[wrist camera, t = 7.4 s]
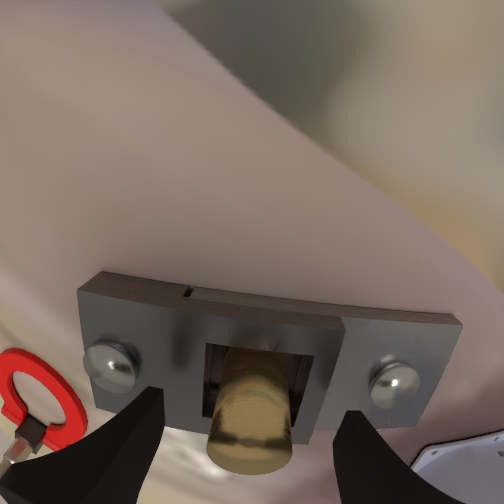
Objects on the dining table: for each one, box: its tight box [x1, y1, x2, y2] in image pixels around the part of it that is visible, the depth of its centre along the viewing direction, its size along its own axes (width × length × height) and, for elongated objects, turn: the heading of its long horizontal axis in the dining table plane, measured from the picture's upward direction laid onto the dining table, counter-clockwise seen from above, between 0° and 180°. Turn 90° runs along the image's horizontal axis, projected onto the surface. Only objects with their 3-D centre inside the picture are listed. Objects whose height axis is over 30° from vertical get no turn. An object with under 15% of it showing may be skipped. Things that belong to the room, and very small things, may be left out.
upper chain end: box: [77, 271, 346, 444], centre depth 14 cm, size 11×7×3 cm, turn 83°
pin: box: [206, 346, 292, 475], centre depth 12 cm, size 3×3×6 cm
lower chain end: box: [189, 287, 463, 429], centre depth 14 cm, size 13×7×2 cm, turn 83°
